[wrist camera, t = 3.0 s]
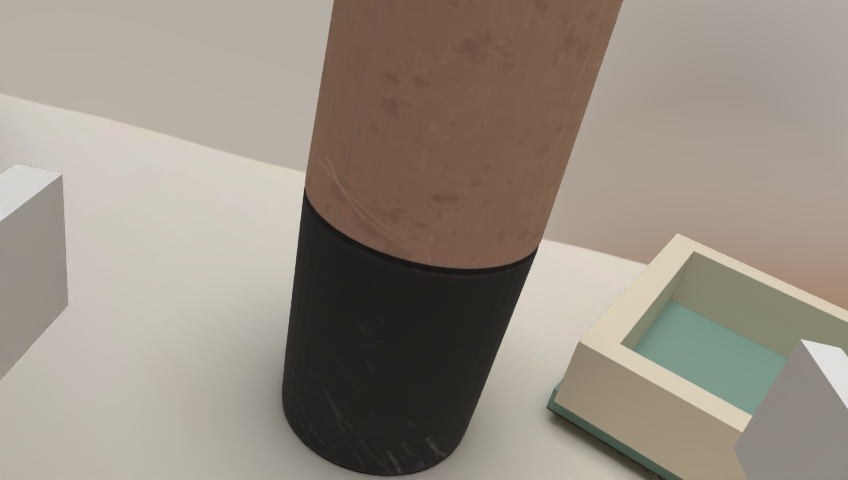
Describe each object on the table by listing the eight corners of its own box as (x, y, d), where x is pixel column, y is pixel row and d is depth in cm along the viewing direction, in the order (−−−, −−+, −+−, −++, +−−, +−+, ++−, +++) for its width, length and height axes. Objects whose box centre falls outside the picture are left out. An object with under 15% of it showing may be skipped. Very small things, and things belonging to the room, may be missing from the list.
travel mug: (251, 347, 27) (326, -263, 17) (423, 327, 31) (565, -188, 21) (308, 505, 21) (465, -266, 12) (510, 459, 25) (760, -164, 15)
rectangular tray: (539, 415, 27) (571, 337, 25) (643, 293, 38) (672, 230, 36) (1076, 749, 20) (1179, 675, 18) (1022, 483, 30) (1084, 418, 29)
